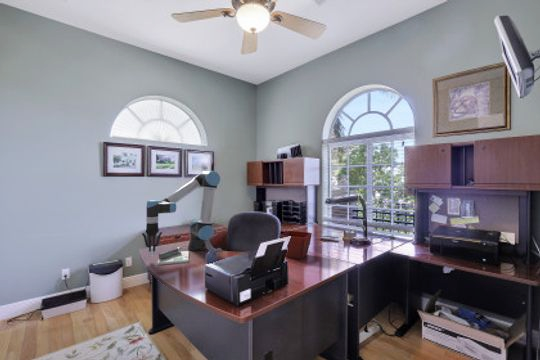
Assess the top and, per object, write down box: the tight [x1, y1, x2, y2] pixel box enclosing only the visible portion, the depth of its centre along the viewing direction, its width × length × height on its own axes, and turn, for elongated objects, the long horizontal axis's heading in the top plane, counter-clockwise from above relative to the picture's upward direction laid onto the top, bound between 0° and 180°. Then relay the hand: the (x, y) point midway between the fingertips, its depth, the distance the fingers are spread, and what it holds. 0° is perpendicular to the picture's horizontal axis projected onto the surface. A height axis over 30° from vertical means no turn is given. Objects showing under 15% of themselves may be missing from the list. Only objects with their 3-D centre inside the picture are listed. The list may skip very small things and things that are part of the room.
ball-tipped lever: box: [158, 246, 182, 260], centre depth 185 cm, size 19×4×4 cm, turn 153°
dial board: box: [156, 250, 190, 266], centre depth 185 cm, size 20×22×2 cm
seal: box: [204, 233, 223, 264], centre depth 175 cm, size 8×12×20 cm
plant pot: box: [279, 230, 313, 260], centre depth 193 cm, size 19×19×17 cm
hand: (152, 256), depth 177 cm, fingers closed
